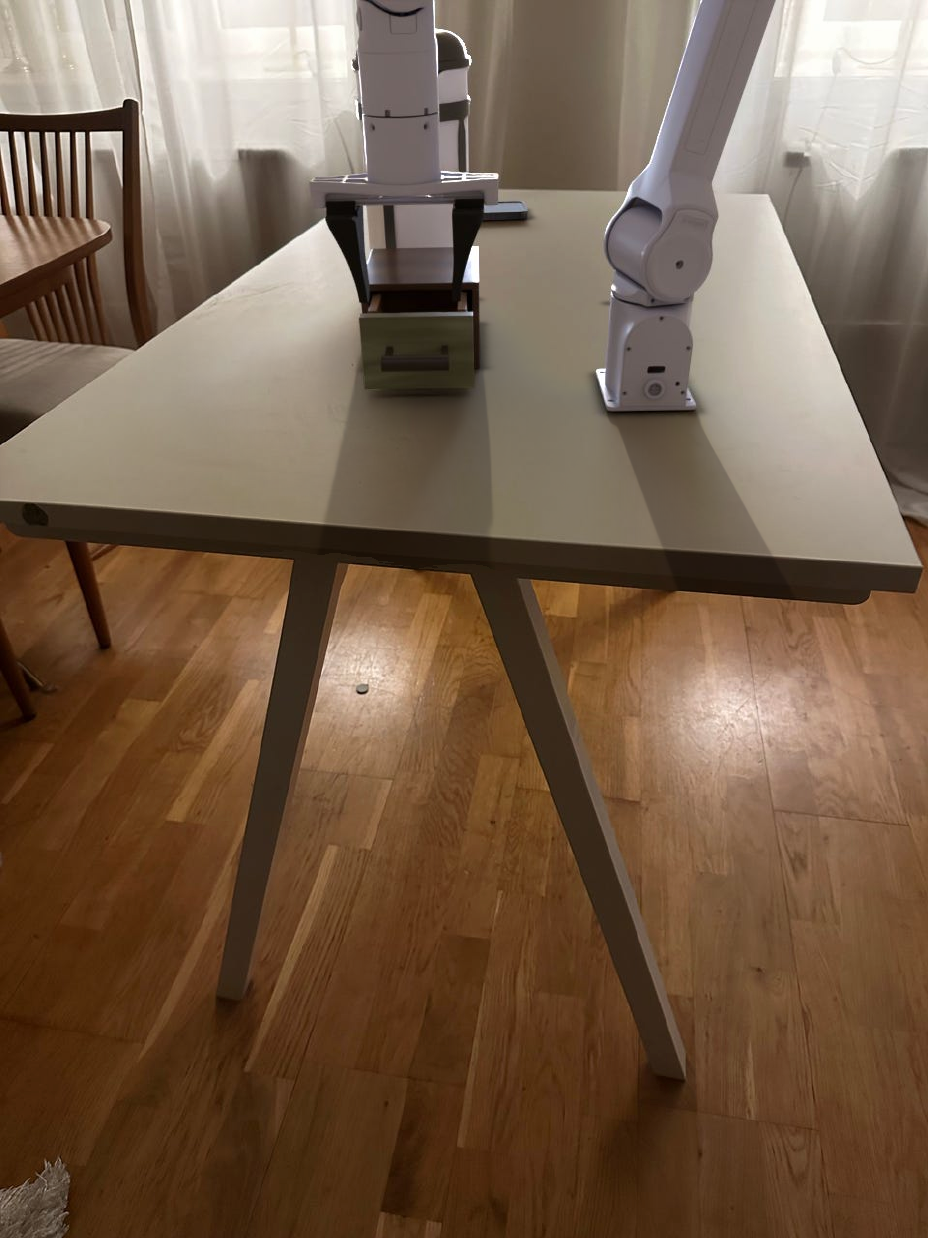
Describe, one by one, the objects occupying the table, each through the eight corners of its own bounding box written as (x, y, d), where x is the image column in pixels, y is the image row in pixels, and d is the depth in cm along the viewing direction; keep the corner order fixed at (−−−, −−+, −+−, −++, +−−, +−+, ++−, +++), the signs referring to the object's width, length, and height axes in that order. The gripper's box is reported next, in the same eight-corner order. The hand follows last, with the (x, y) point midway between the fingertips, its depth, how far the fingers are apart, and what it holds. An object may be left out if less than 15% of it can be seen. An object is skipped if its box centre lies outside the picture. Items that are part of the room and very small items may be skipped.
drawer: (474, 406, 81) (472, 331, 77) (360, 407, 81) (353, 333, 77) (473, 342, 94) (472, 276, 91) (376, 344, 95) (371, 278, 91)
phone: (528, 211, 142) (432, 213, 142) (528, 218, 143) (433, 221, 142) (523, 200, 148) (432, 203, 148) (523, 207, 149) (432, 210, 149)
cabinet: (480, 368, 91) (479, 281, 86) (366, 369, 91) (359, 284, 86) (479, 324, 102) (478, 246, 97) (378, 326, 102) (372, 248, 97)
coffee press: (510, 285, 114) (512, -5, 96) (435, 319, 103) (423, 1, 86) (400, 266, 122) (384, -4, 104) (321, 297, 111) (288, 2, 94)
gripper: (497, 103, 70) (497, 283, 78) (312, 107, 71) (330, 285, 79) (498, 116, 65) (498, 308, 73) (296, 120, 65) (318, 311, 73)
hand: (410, 298), depth 75 cm, fingers open, 7 cm apart
